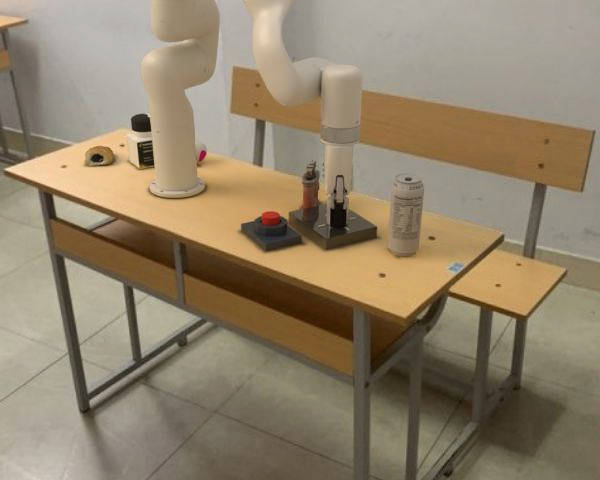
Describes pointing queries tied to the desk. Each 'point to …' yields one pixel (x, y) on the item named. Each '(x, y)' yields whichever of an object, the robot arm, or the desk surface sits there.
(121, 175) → the desk surface
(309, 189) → the lighter
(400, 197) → the energy drink can
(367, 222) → the grey dial base plate
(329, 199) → the knob
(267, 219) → the power button
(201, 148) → the stress ball
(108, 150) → the pastry
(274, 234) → the control block
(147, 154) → the medicine bottle
